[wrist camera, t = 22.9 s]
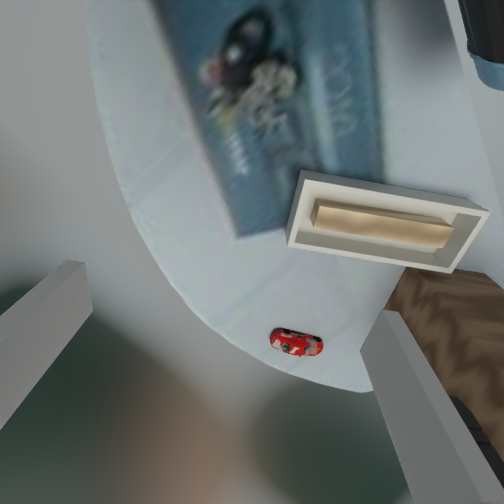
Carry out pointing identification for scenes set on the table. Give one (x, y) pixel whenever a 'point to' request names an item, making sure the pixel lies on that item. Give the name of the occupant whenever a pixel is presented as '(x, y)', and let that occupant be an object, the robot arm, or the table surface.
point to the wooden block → (459, 337)
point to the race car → (296, 342)
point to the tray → (386, 197)
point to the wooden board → (380, 223)
